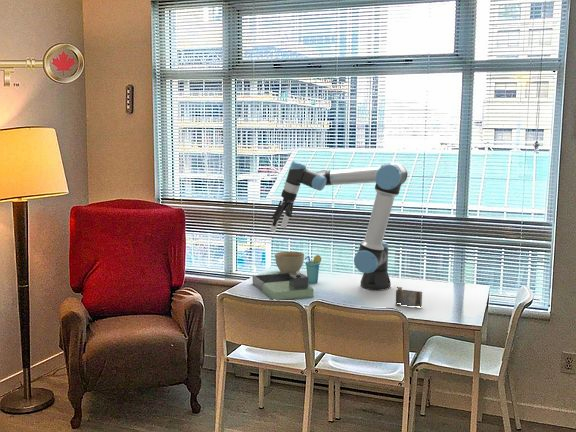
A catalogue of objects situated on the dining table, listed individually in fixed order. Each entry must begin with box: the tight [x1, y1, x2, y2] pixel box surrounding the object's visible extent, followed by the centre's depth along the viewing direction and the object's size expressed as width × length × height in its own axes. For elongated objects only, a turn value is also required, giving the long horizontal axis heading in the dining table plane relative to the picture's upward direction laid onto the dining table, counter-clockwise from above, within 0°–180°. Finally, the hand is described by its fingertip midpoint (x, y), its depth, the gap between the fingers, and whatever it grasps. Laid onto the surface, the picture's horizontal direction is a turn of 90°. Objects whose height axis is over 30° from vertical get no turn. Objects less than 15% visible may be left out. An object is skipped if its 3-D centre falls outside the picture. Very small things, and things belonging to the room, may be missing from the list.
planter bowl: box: [274, 251, 305, 275], centre depth 354 cm, size 16×16×11 cm
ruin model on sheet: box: [395, 286, 423, 307], centre depth 292 cm, size 11×3×10 cm, turn 68°
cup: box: [304, 254, 322, 285], centre depth 333 cm, size 14×8×15 cm, turn 148°
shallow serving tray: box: [252, 270, 315, 300], centre depth 319 cm, size 33×20×11 cm, turn 21°
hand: (277, 229), depth 331 cm, fingers open, 13 cm apart
